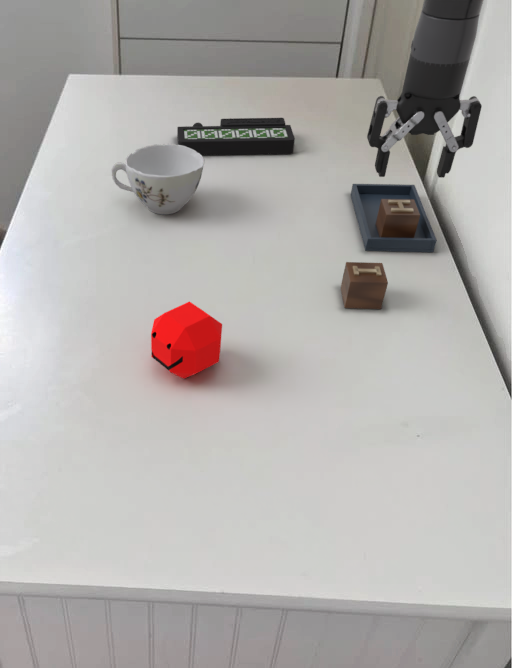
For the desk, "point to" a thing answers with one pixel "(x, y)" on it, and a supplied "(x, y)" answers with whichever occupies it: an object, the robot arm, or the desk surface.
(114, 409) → the desk surface
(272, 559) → the desk surface
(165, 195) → the teacup
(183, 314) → the ball
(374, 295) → the tile
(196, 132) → the digital display
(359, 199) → the word tray
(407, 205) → the tile
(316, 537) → the desk surface
